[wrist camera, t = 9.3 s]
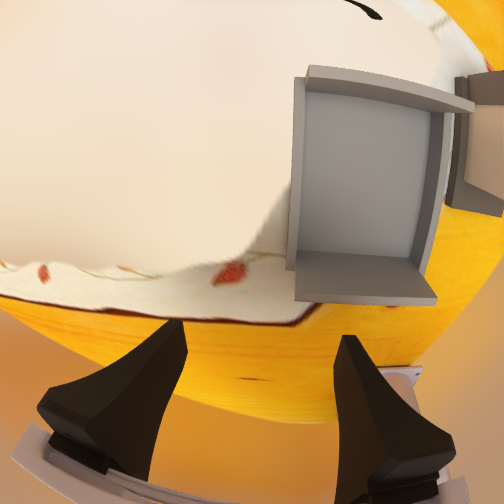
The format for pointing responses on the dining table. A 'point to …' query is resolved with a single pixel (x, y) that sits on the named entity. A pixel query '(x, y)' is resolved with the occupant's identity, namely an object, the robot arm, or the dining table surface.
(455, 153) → the rubber mat
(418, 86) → the grey open tray
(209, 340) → the dining table surface
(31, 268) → the dining table surface
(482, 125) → the box
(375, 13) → the eyeglasses
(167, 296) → the dining table surface
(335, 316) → the dining table surface
